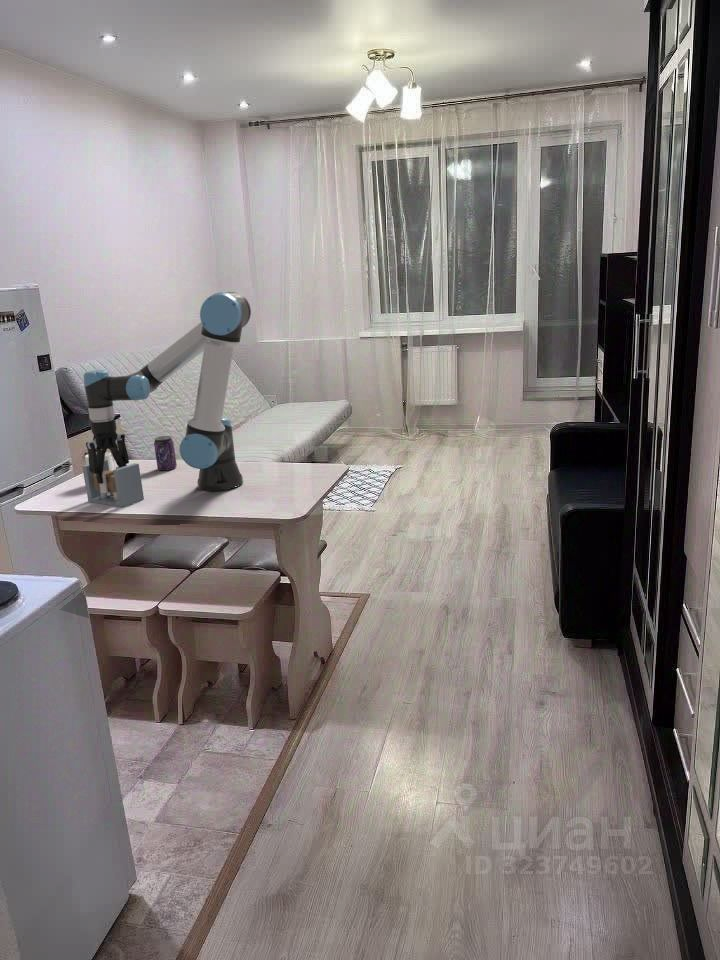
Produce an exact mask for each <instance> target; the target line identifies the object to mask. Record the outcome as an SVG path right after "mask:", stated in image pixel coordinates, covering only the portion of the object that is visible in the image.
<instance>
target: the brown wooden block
mask: <svg viewBox="0 0 720 960" xmlns="http://www.w3.org/2000/svg"><path fill="white" fill-rule="evenodd" d="M103 473H105V475H106V482H107V488H108V491H109V492H117V490H116V484H115V478H114V472H113V471H103ZM93 481H94V487H95V490H98V491H100V485H99V483H98V482H97V477H96V474H95V475H93Z"/></svg>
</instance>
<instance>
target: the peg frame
mask: <svg viewBox="0 0 720 960" xmlns="http://www.w3.org/2000/svg"><path fill="white" fill-rule="evenodd" d="M81 468H82V474H83V478H84V484H85V490H86V495H87V501H88V502H92V503H95V504H96V503H97V504H103V505H108V506H116V507H121V508H125V507H127V506H130V505H133V504H136V503H138V502H141V501H143V500H145V498H144V497H145V496H144V489H143V483H142V477H141V468H140V464H139V463H137V462H136V463H135V462H134V463H132V464H130V463H129V464H127V466H124V467H121V468H118V469H116V468H115V470H113V472H114V478H115V484H116V490H117V492H109V491H108V493H101V491H98V490H95V487H94V481H93V475H95V473H90V469H89V464H87V465H86V464H84V465H82V467H81ZM103 471H109V466H108V460H104V466H103Z"/></svg>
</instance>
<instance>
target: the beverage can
mask: <svg viewBox="0 0 720 960" xmlns="http://www.w3.org/2000/svg"><path fill="white" fill-rule="evenodd" d="M153 445H154V454H155V459H156V465H157V466H156V467H157V469H158V470H160V471H171V470H173V469H175V468H176V467H177V465H178V464H177V458H176V451H175V444H174V440H173V439H172V436H171V435H162V436H157V437H155V438H154V442H153Z"/></svg>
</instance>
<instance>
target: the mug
mask: <svg viewBox="0 0 720 960" xmlns="http://www.w3.org/2000/svg"><path fill="white" fill-rule="evenodd" d="M96 455H97V451H96ZM84 457H85V458H84V459H85V465H87V464H89V457H88V454H86V455H85V456H84ZM104 460H108V466H109V471H113V470H115V469H116V468H115V467H116V462H115V459H114V457H113V456H112V453H111V451H110V452H109V451H106V453H105V458H104Z"/></svg>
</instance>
